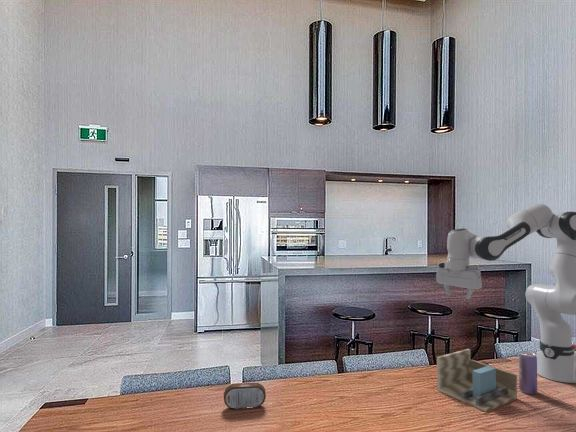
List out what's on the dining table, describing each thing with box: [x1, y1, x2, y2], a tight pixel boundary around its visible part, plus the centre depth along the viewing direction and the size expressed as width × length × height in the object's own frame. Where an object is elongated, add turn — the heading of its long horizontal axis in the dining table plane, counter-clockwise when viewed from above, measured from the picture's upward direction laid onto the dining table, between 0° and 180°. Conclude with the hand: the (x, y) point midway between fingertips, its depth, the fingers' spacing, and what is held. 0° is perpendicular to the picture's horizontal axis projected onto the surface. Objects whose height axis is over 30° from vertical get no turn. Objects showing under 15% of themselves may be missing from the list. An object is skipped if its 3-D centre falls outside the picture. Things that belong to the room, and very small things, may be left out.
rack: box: [436, 348, 518, 413], centre depth 143 cm, size 20×20×13 cm
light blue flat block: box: [472, 365, 497, 399], centre depth 139 cm, size 10×3×10 cm, turn 120°
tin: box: [223, 382, 267, 409], centre depth 132 cm, size 15×3×8 cm, turn 98°
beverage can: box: [518, 350, 538, 396], centre depth 146 cm, size 6×6×15 cm
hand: (458, 296), depth 162 cm, fingers open, 8 cm apart
